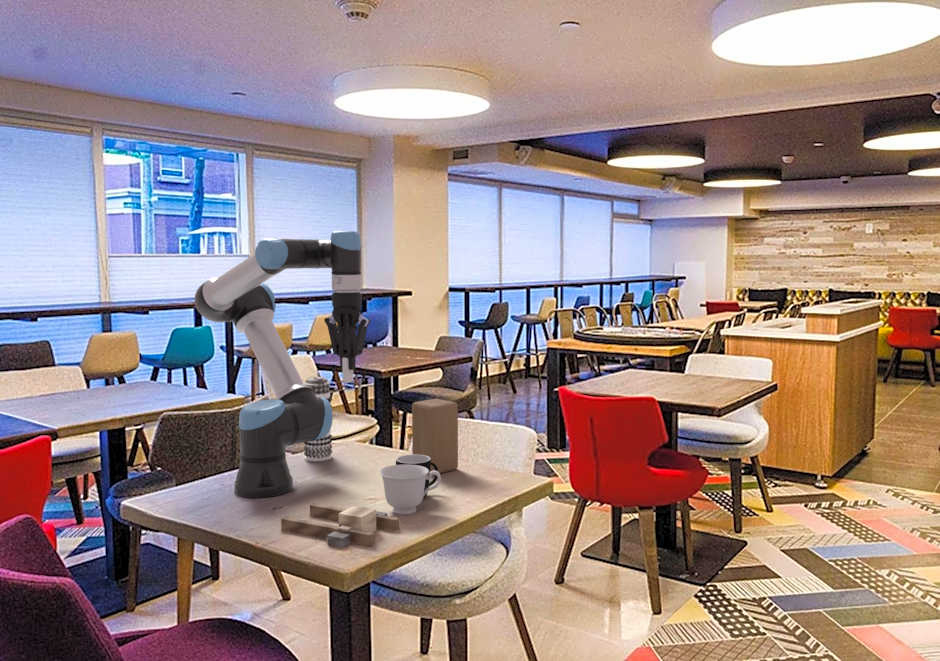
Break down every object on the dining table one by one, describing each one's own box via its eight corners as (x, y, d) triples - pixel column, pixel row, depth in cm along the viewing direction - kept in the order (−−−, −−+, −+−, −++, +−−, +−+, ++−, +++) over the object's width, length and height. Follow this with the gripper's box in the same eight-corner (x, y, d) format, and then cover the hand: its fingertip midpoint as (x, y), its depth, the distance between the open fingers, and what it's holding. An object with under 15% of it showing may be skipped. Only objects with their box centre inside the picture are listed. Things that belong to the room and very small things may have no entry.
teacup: (442, 518, 180) (441, 476, 179) (379, 519, 179) (378, 478, 178) (440, 502, 192) (439, 463, 191) (380, 503, 191) (380, 464, 190)
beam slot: (272, 533, 170) (272, 521, 170) (321, 509, 186) (321, 498, 186) (362, 551, 160) (362, 538, 160) (406, 524, 176) (405, 512, 176)
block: (437, 463, 229) (437, 397, 228) (459, 469, 222) (459, 402, 220) (411, 469, 223) (410, 401, 221) (433, 476, 215) (432, 406, 213)
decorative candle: (336, 454, 240) (335, 375, 237) (328, 461, 231) (327, 380, 228) (308, 453, 241) (306, 375, 238) (299, 461, 231) (297, 380, 229)
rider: (339, 535, 170) (338, 513, 169) (354, 526, 175) (353, 505, 175) (361, 539, 167) (361, 517, 167) (376, 530, 172) (376, 509, 172)
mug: (407, 504, 190) (407, 465, 189) (389, 495, 198) (389, 457, 197) (447, 496, 197) (447, 457, 196) (428, 487, 204) (428, 450, 204)
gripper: (317, 291, 195) (318, 382, 197) (359, 292, 190) (360, 385, 192) (334, 290, 202) (336, 378, 204) (376, 291, 196) (377, 381, 198)
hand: (348, 381), depth 198 cm, fingers closed
